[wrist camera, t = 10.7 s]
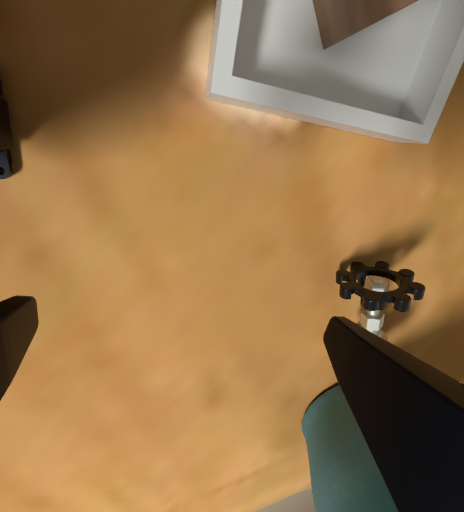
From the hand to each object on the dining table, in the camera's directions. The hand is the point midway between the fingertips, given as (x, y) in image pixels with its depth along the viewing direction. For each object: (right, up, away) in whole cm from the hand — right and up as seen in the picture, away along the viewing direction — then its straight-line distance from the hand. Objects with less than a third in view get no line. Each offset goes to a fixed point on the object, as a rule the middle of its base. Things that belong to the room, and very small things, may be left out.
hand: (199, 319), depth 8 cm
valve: (+13, -4, +20) cm, 24 cm away
